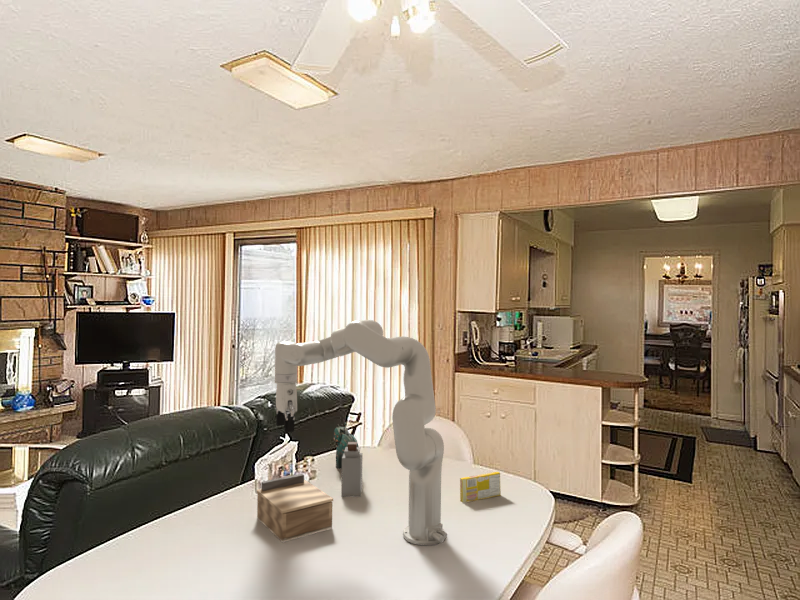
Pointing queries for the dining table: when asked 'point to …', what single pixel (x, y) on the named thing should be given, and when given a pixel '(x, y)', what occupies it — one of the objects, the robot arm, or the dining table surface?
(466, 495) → the candy box
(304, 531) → the wooden box
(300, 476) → the sliding wooden box lid
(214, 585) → the dining table surface
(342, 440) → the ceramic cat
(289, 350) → the robot arm
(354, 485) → the perfume bottle
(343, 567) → the dining table surface
